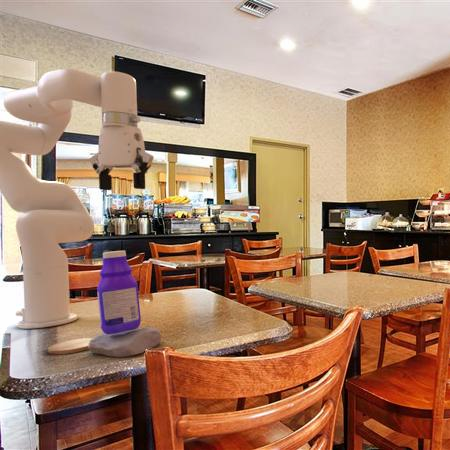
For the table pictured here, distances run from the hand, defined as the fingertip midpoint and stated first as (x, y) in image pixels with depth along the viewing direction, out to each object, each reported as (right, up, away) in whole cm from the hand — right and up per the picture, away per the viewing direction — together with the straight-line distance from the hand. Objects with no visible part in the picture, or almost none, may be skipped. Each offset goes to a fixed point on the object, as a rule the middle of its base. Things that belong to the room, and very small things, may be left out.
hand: (122, 189), depth 105 cm
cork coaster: (-1, -37, -14) cm, 39 cm away
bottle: (+11, -33, -17) cm, 38 cm away
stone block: (+12, -37, -17) cm, 42 cm away
